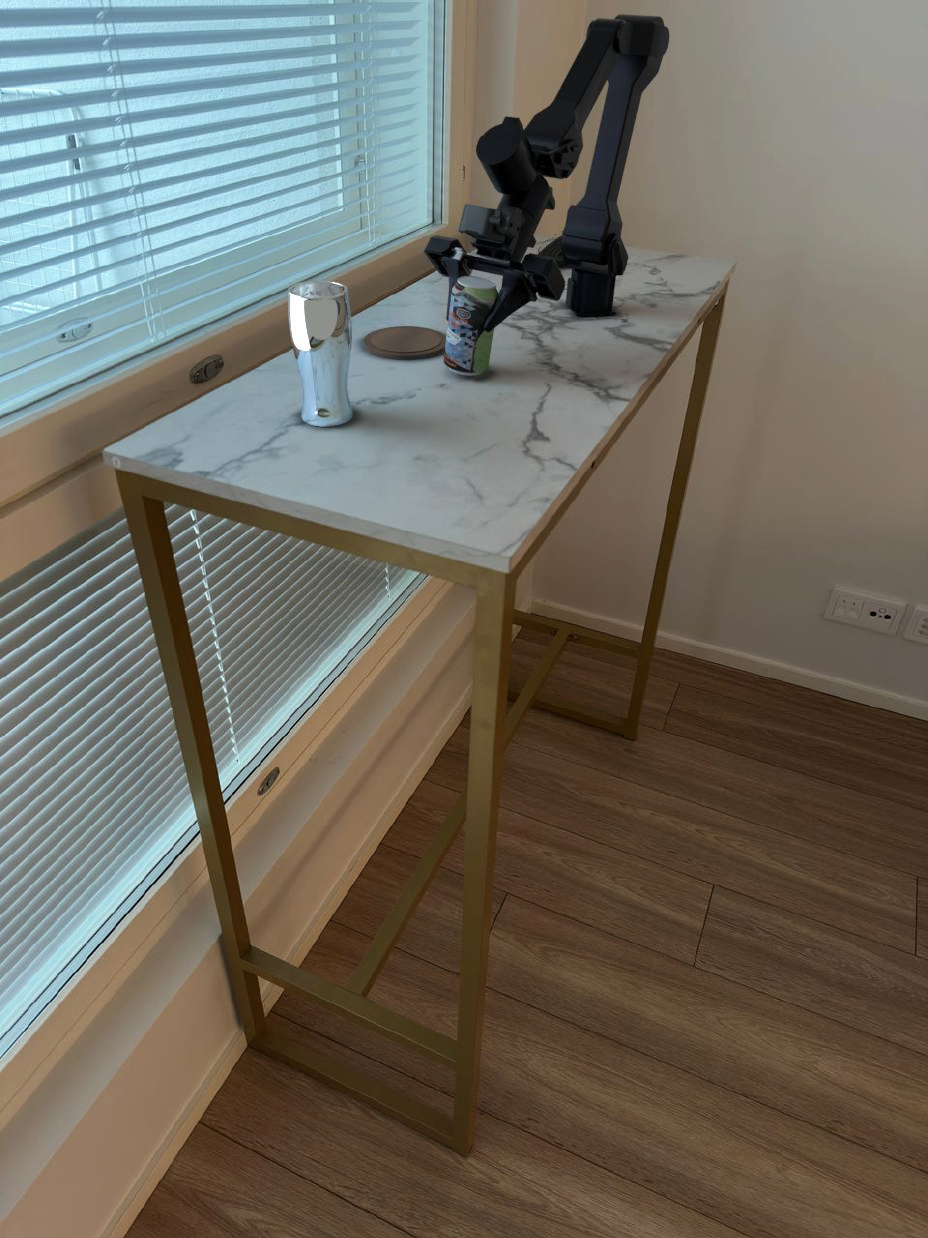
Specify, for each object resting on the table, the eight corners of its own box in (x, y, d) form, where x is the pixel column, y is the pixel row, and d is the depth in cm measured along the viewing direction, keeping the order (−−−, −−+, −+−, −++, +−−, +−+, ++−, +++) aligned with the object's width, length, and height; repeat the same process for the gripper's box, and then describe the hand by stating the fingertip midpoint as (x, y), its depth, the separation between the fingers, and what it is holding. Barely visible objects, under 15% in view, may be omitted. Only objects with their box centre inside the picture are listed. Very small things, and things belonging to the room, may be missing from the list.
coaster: (439, 328, 135) (440, 323, 134) (455, 357, 125) (455, 352, 125) (359, 331, 133) (359, 327, 132) (368, 361, 123) (368, 356, 123)
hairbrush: (497, 263, 153) (556, 224, 170) (496, 285, 155) (555, 245, 172) (542, 271, 150) (598, 231, 167) (541, 293, 152) (596, 251, 169)
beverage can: (442, 365, 123) (438, 273, 116) (496, 362, 123) (495, 270, 117) (445, 381, 118) (442, 286, 111) (501, 378, 118) (501, 283, 111)
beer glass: (365, 409, 110) (359, 283, 102) (341, 432, 105) (332, 301, 96) (314, 401, 112) (304, 276, 103) (287, 423, 107) (274, 294, 98)
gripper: (432, 166, 114) (380, 276, 113) (562, 186, 105) (507, 305, 104) (466, 221, 123) (418, 323, 123) (587, 244, 115) (537, 353, 114)
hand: (466, 325), depth 116 cm, fingers closed on beverage can, 5 cm apart
